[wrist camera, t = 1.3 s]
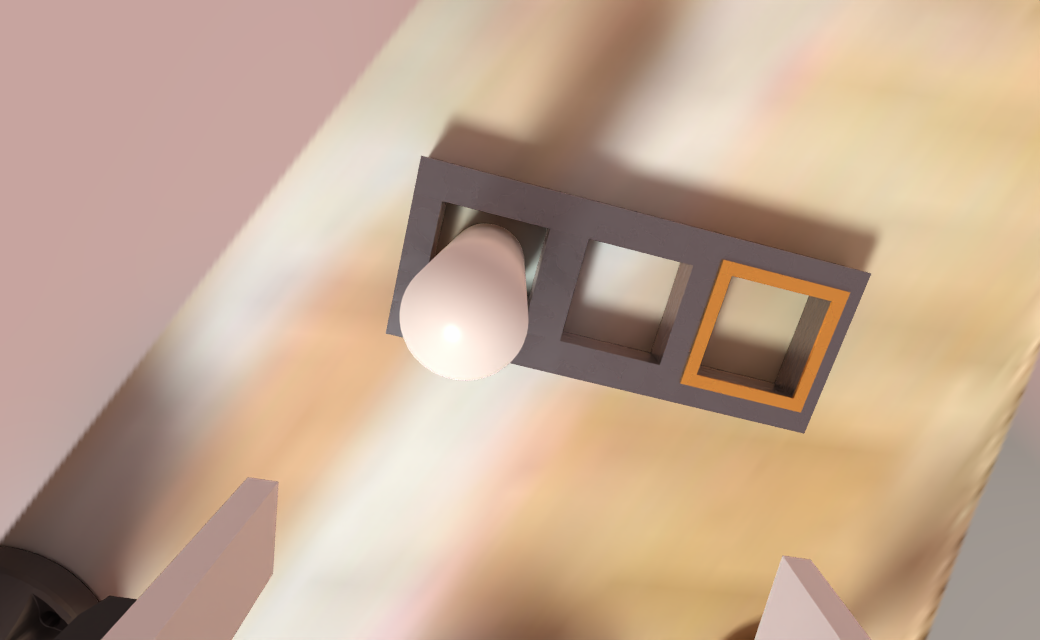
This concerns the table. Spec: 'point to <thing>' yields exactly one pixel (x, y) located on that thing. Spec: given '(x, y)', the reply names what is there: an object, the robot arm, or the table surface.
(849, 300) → the rail
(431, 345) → the pin
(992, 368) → the table surface
